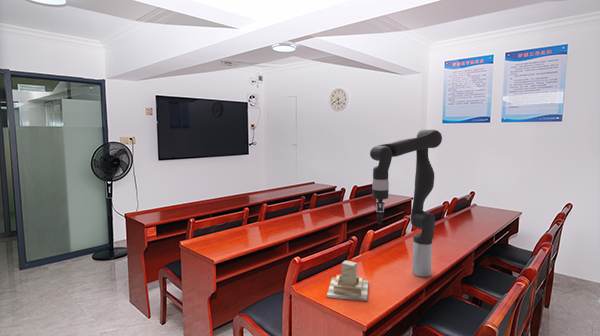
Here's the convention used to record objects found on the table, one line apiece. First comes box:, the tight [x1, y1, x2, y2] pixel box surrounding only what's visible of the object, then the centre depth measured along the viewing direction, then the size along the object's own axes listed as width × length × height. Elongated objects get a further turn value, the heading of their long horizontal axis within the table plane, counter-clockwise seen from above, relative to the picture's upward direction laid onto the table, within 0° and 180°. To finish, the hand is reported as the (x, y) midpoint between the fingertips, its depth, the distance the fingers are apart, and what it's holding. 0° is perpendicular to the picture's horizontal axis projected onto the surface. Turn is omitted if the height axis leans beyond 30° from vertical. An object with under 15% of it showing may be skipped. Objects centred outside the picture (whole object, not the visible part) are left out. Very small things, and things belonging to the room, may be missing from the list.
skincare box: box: [340, 260, 358, 287], centre depth 160 cm, size 6×4×12 cm
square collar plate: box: [326, 274, 369, 302], centre depth 161 cm, size 18×18×4 cm
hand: (379, 221), depth 162 cm, fingers open, 8 cm apart
